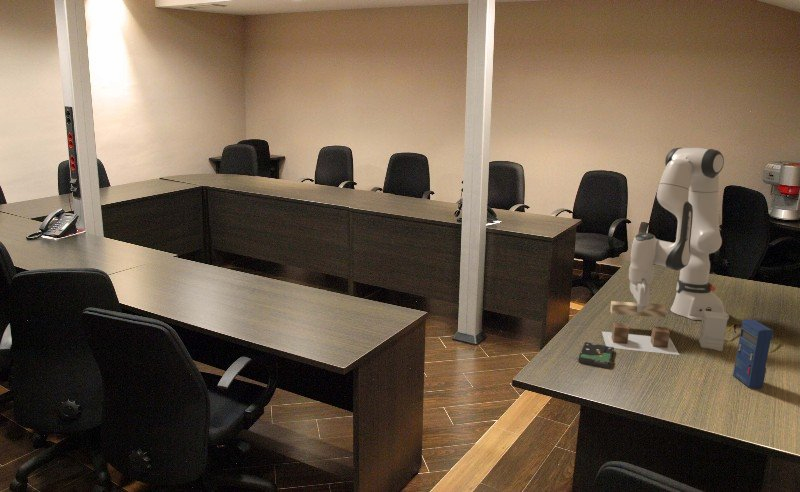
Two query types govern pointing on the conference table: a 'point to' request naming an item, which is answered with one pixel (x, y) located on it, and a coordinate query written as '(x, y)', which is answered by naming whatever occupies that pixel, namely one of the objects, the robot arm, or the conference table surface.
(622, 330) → the pillar
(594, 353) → the disk drive
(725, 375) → the conference table surface
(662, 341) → the pillar
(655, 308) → the plank
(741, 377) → the electronic device
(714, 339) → the supplement box
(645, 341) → the board
